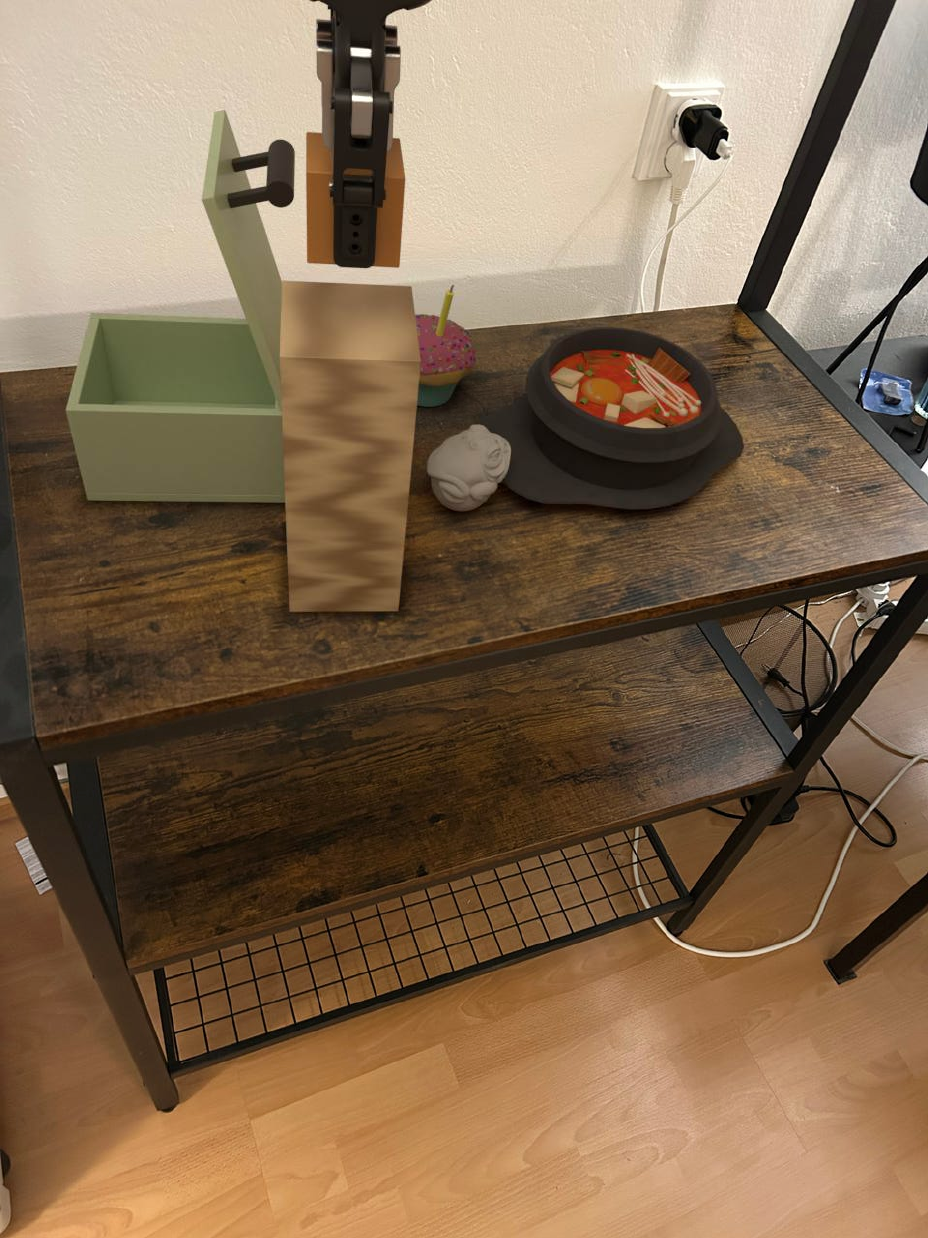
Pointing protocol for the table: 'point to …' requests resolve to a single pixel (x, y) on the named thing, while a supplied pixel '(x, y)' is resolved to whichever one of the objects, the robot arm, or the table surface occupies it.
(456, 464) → the frog figurine
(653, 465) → the casserole
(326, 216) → the orange rectangular box
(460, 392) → the table surface
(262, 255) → the lid
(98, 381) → the chest
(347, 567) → the tall wooden pillar
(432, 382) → the cupcake
